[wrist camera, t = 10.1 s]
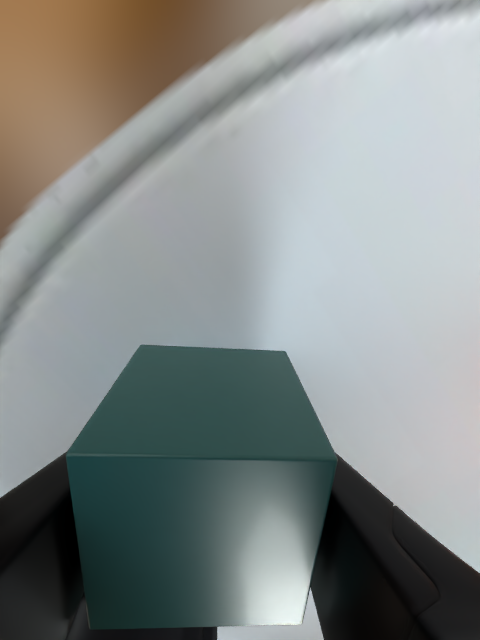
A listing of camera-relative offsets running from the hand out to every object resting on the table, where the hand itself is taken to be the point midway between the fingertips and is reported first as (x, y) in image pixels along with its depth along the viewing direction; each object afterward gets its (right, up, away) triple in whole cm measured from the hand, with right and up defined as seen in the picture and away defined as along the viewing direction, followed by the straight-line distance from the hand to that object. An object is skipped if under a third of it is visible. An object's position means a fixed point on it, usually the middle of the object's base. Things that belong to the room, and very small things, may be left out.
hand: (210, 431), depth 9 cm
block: (0, 0, +1) cm, 1 cm away
